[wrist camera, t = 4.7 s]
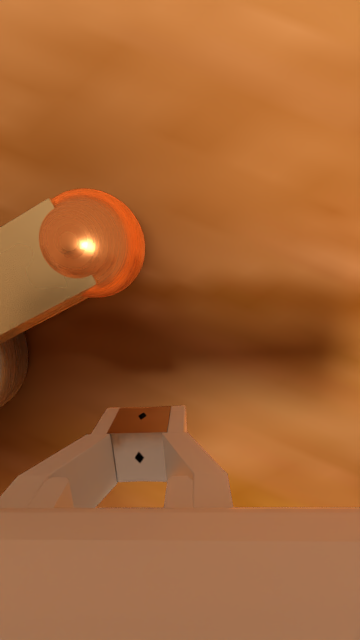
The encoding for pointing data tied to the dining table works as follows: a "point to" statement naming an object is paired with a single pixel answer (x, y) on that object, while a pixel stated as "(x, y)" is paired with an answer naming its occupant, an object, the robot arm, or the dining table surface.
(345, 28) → the dining table surface
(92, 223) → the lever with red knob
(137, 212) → the dining table surface
